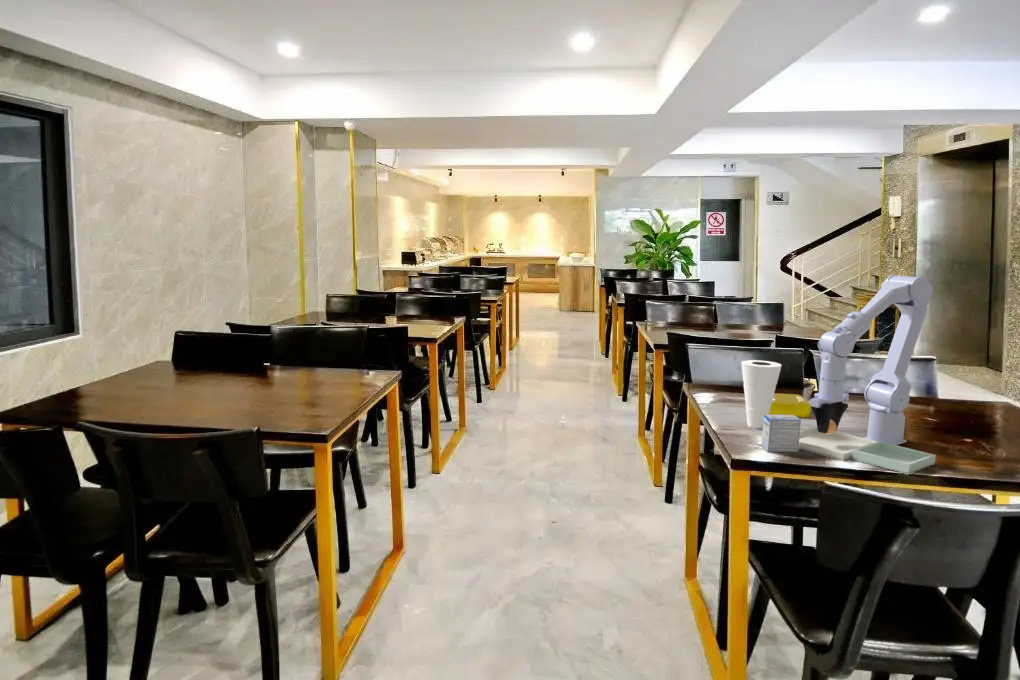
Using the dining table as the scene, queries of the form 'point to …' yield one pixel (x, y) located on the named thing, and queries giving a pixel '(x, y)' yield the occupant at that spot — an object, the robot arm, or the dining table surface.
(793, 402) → the element tile
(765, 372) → the white paper towel roll
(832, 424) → the ball
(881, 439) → the robot arm
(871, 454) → the dish
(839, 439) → the tray
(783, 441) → the medicine box
